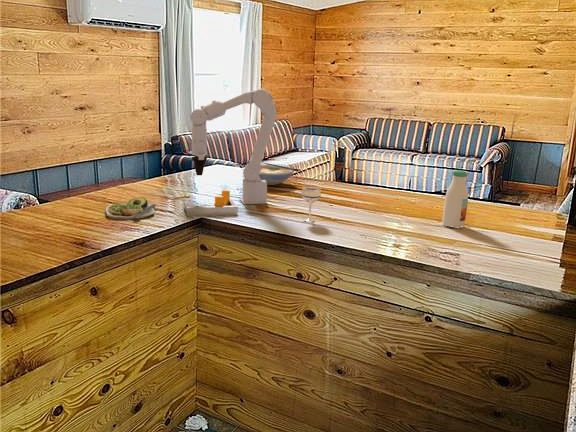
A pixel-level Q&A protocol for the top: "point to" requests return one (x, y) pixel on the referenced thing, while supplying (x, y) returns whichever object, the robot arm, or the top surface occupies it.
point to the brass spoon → (182, 196)
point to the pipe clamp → (223, 199)
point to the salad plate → (131, 209)
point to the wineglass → (310, 196)
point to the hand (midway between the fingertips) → (199, 175)
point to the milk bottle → (456, 200)
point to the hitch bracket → (211, 210)
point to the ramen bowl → (275, 173)
